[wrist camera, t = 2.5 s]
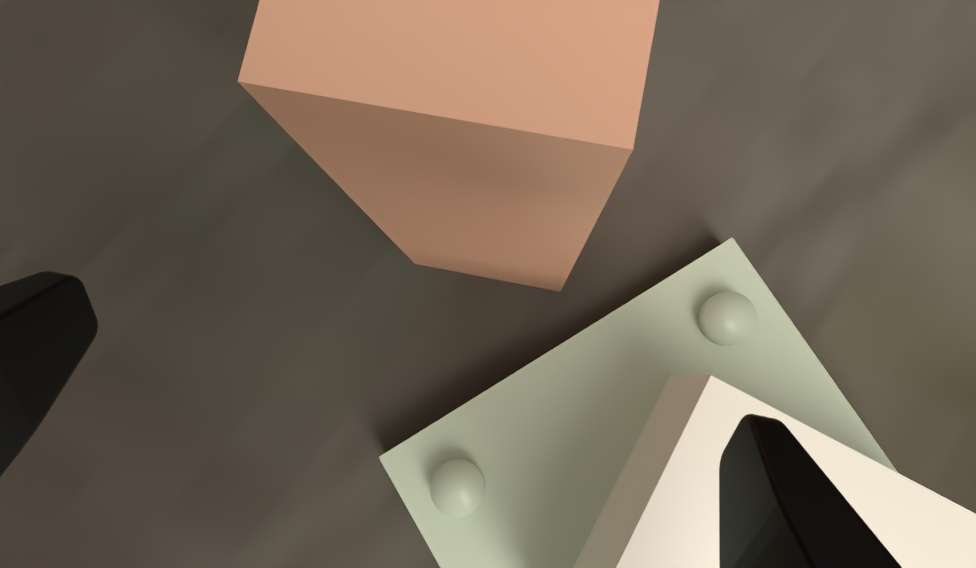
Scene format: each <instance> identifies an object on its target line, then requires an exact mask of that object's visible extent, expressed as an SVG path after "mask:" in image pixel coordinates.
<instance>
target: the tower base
mask: <svg viewBox="0 0 976 568" xmlns="http://www.w3.org/2000/svg"><path fill="white" fill-rule="evenodd" d="M747 414H755V415H760V416H765V417H770V418H775V419H778V420H780V421H781V422H782V423H784V424H785V425H786V427H787V428H788V429H789V430H790V431H791V433H792V434H793V435H794V436H795V438H796V439H797V440H798V441H799V442H800V444H801V445H802V446H803V447H804V449H805V450H806V451H807V452H808V453H809V455H810V456H811V457H812V458H813V460H814V461H815V462H816V463H817V464H818V466H819V467H820V468H821V469H822V471H823V472H824V473H825V474H826V475H827V477H828V478H829V479H830V480H831V481H832V483H833V484H834V485H835V486H836V488H837V489H838V490H839V491H840V492H841V494H842V495H843V496H844V497H845V499H846V500H847V501H848V502H849V503H850V505H851V506H852V507H853V508H854V510H855V511H856V512H857V513H858V514H859V516H860V517H861V518H862V519H863V520H864V522H865V523H866V524H867V525H868V527H869V528H870V529H871V530H872V531H873V533H874V534H875V535H876V536H877V538H878V539H879V540H880V541H881V542H882V544H883V545H884V546H885V547H886V549H887V550H888V551H889V552H890V553H891V555H892V556H893V557H894V558H895V560H896V561H897V562H898V563H899V564H900V566H901V567H902V568H976V514H975V513H973V512H971V511H969V510H967V509H965V508H963V507H961V506H960V505H958V504H956V503H954V502H952V501H950V500H948V499H946V498H944V497H942V496H940V495H939V494H937V493H935V492H933V491H931V490H929V489H927V488H925V487H923V486H921V485H920V484H918V483H916V482H914V481H912V480H910V479H908V478H906V477H904V476H902V475H900V474H899V473H898V472H897V471H896V469H895V468H894V467H893V465H892V464H891V462H890V461H889V459H888V458H887V457H886V455H885V454H884V452H883V451H882V449H881V448H880V447H879V445H878V444H877V442H876V441H875V440H874V438H873V437H872V435H871V434H870V432H869V431H868V430H867V428H866V427H865V425H864V424H863V422H862V421H861V420H860V418H859V417H858V415H857V414H856V413H855V411H854V410H853V408H852V407H851V405H850V404H849V403H848V401H847V400H846V398H845V397H844V395H843V394H842V393H841V391H840V390H839V388H838V387H837V385H836V384H835V383H834V381H833V380H832V378H831V377H830V376H829V374H828V373H827V371H826V370H825V368H824V367H823V366H822V364H821V363H820V361H819V360H818V358H817V357H816V356H815V354H814V353H813V351H812V350H811V349H810V347H809V346H808V344H807V343H806V341H805V340H804V339H803V337H802V336H801V334H800V333H799V331H798V330H797V329H796V327H795V326H794V324H793V323H792V322H791V320H790V319H789V317H788V316H787V314H786V313H785V312H784V310H783V309H782V307H781V306H780V304H779V303H778V302H777V300H776V299H775V297H774V296H773V295H772V293H771V292H770V290H769V289H768V287H767V286H766V285H765V283H764V282H763V280H762V279H761V277H760V276H759V275H758V273H757V272H756V270H755V269H754V268H753V266H752V265H751V263H750V262H749V260H748V259H747V258H746V256H745V255H744V253H743V252H742V250H741V249H740V248H739V246H738V245H737V243H736V242H735V241H734V239H733V238H730V239H729V240H727V241H726V242H724V243H722V244H721V245H719V246H718V247H716V248H714V249H713V250H711V251H710V252H708V253H706V254H705V255H703V256H702V257H700V258H698V259H697V260H695V261H693V262H692V263H690V264H689V265H687V266H685V267H684V268H682V269H681V270H679V271H677V272H676V273H674V274H673V275H671V276H669V277H668V278H666V279H665V280H663V281H661V282H660V283H658V284H656V285H655V286H653V287H652V288H650V289H648V290H647V291H645V292H644V293H642V294H640V295H639V296H637V297H636V298H634V299H632V300H631V301H629V302H628V303H626V304H624V305H623V306H621V307H619V308H618V309H616V310H615V311H613V312H611V313H610V314H608V315H607V316H605V317H603V318H602V319H600V320H599V321H597V322H595V323H594V324H592V325H590V326H589V327H587V328H586V329H584V330H582V331H581V332H579V333H578V334H576V335H574V336H573V337H571V338H570V339H568V340H566V341H565V342H563V343H562V344H560V345H558V346H557V347H555V348H553V349H552V350H550V351H549V352H547V353H545V354H544V355H542V356H541V357H539V358H537V359H536V360H534V361H533V362H531V363H529V364H528V365H526V366H525V367H523V368H521V369H520V370H518V371H516V372H515V373H513V374H512V375H510V376H508V377H507V378H505V379H504V380H502V381H500V382H499V383H497V384H496V385H494V386H492V387H491V388H489V389H488V390H486V391H484V392H483V393H481V394H479V395H478V396H476V397H475V398H473V399H471V400H470V401H468V402H467V403H465V404H463V405H462V406H460V407H459V408H457V409H455V410H454V411H452V412H451V413H449V414H447V415H446V416H444V417H442V418H441V419H439V420H438V421H436V422H434V423H433V424H431V425H430V426H428V427H426V428H425V429H423V430H422V431H420V432H418V433H417V434H415V435H414V436H412V437H410V438H409V439H407V440H405V441H404V442H402V443H401V444H399V445H397V446H396V447H394V448H393V449H391V450H389V451H388V452H386V453H385V454H383V455H381V456H380V457H379V459H380V461H381V462H382V464H383V466H384V468H385V470H386V471H387V473H388V475H389V477H390V478H391V480H392V482H393V484H394V486H395V487H396V489H397V491H398V493H399V495H400V496H401V498H402V500H403V502H404V503H405V505H406V507H407V509H408V511H409V512H410V514H411V516H412V518H413V520H414V521H415V523H416V525H417V527H418V528H419V530H420V532H421V534H422V536H423V537H424V539H425V541H426V543H427V544H428V546H429V548H430V550H431V552H432V553H433V555H434V557H435V559H436V561H437V562H438V564H439V566H440V568H719V466H720V460H721V456H722V453H723V451H724V449H725V447H726V445H727V444H728V442H729V440H730V438H731V436H732V435H733V433H734V431H735V429H736V427H737V426H738V424H739V422H740V420H741V419H742V418H743V417H744V416H745V415H747Z"/></svg>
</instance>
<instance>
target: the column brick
mask: <svg viewBox="0 0 976 568" xmlns="http://www.w3.org/2000/svg"><path fill="white" fill-rule="evenodd" d="M658 6H659V0H260V1H259V5H258V9H257V12H256V16H255V20H254V23H253V27H252V30H251V34H250V38H249V41H248V45H247V49H246V52H245V56H244V60H243V63H242V67H241V71H240V74H239V78H238V82H239V83H240V84H241V85H242V87H243V88H244V89H245V90H246V91H247V92H248V93H249V94H250V95H251V96H252V97H253V98H254V99H255V100H256V101H257V102H258V103H259V104H260V105H261V106H262V107H263V108H264V109H265V110H266V111H267V112H268V113H269V114H270V115H271V116H272V117H273V118H274V119H275V120H276V122H277V123H278V124H279V125H280V126H281V127H282V128H283V129H284V130H285V131H286V132H287V133H288V134H289V135H290V136H291V137H292V138H293V139H294V140H295V141H296V142H297V143H298V144H299V145H300V146H301V147H302V148H303V149H304V150H305V151H306V152H307V153H308V154H309V155H310V157H311V158H312V159H313V160H314V161H315V162H316V163H317V164H318V165H319V166H320V167H321V168H322V169H323V170H324V171H325V172H326V173H327V174H328V175H329V176H330V177H331V178H332V179H333V180H334V181H335V182H336V183H337V184H338V185H339V186H340V187H341V188H342V189H343V190H344V192H345V193H346V194H347V195H348V196H349V197H350V198H351V199H352V200H353V201H354V202H355V203H356V204H357V205H358V206H359V207H360V208H361V209H362V210H363V211H364V212H365V213H366V214H367V215H368V216H369V217H370V218H371V219H372V220H373V221H374V222H375V223H376V224H377V226H378V227H379V228H380V229H381V230H382V231H383V232H384V233H385V234H386V235H387V236H388V237H389V238H390V239H391V240H392V241H393V242H394V243H395V244H396V245H397V246H398V247H399V248H400V249H401V250H402V251H403V252H404V253H405V254H406V255H407V256H408V257H409V258H410V259H411V261H412V262H413V263H414V264H418V265H424V266H429V267H434V268H439V269H444V270H449V271H455V272H460V273H465V274H470V275H475V276H480V277H486V278H491V279H496V280H501V281H506V282H512V283H517V284H522V285H527V286H532V287H537V288H543V289H548V290H553V291H558V292H561V290H562V288H563V286H564V284H565V282H566V280H567V278H568V276H569V274H570V272H571V270H572V268H573V266H574V264H575V262H576V260H577V258H578V256H579V254H580V252H581V250H582V248H583V246H584V245H585V243H586V241H587V239H588V237H589V235H590V233H591V231H592V229H593V227H594V225H595V223H596V221H597V219H598V217H599V215H600V213H601V211H602V209H603V207H604V205H605V203H606V201H607V199H608V197H609V196H610V194H611V192H612V190H613V188H614V186H615V184H616V182H617V180H618V178H619V176H620V174H621V172H622V170H623V168H624V166H625V164H626V162H627V160H628V158H629V156H630V154H631V152H632V150H633V146H634V141H635V135H636V129H637V124H638V118H639V113H640V107H641V101H642V96H643V90H644V84H645V79H646V73H647V68H648V62H649V56H650V51H651V45H652V39H653V34H654V28H655V23H656V17H657V11H658Z"/></svg>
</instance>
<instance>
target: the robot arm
mask: <svg viewBox="0 0 976 568" xmlns="http://www.w3.org/2000/svg"><path fill="white" fill-rule="evenodd" d="M97 328H98V321H97V318H96V315H95V313H94V310H93V308H92V305H91V303H90V300H89V297H88V295H87V292H86V290H85V287H84V285H83V283H82V282H81V281H80V280H79V279H78V278H77V277H75V276H71V275H66V274H61V273H56V272H48V271H46V272H41V273H37V274H34V275H31V276H28V277H25V278H22V279H20V280H17V281H14V282H11V283H8V284H5V285H2V286H0V477H1V475H2V474H3V473H4V471H5V470H6V469H7V468H8V466H9V465H10V464H11V462H12V461H13V460H14V459H15V457H16V456H17V455H18V453H19V452H20V451H21V450H22V448H23V447H24V446H25V444H26V443H27V442H28V440H29V439H30V438H31V436H32V435H33V433H34V432H35V431H36V429H37V428H38V426H39V425H40V423H41V422H42V420H43V419H44V417H45V416H46V414H47V413H48V411H49V409H50V408H51V406H52V405H53V403H54V402H55V400H56V398H57V397H58V395H59V394H60V392H61V390H62V389H63V387H64V386H65V384H66V383H67V381H68V379H69V378H70V376H71V375H72V373H73V371H74V370H75V368H76V367H77V365H78V364H79V362H80V360H81V359H82V357H83V356H84V354H85V352H86V351H87V349H88V348H89V346H90V345H91V343H92V341H93V340H94V338H95V336H96V333H97ZM719 568H902V567H901V566H900V564H899V563H898V562H897V561H896V560H895V558H894V557H893V556H892V555H891V553H890V552H889V551H888V550H887V549H886V547H885V546H884V545H883V544H882V542H881V541H880V540H879V539H878V538H877V536H876V535H875V534H874V533H873V531H872V530H871V529H870V528H869V527H868V525H867V524H866V523H865V522H864V520H863V519H862V518H861V517H860V516H859V514H858V513H857V512H856V511H855V510H854V508H853V507H852V506H851V505H850V503H849V502H848V501H847V500H846V499H845V497H844V496H843V495H842V494H841V492H840V491H839V490H838V489H837V488H836V486H835V485H834V484H833V483H832V481H831V480H830V479H829V478H828V477H827V475H826V474H825V473H824V472H823V471H822V469H821V468H820V467H819V466H818V464H817V463H816V462H815V461H814V460H813V458H812V457H811V456H810V455H809V453H808V452H807V451H806V450H805V449H804V447H803V446H802V445H801V444H800V442H799V441H798V440H797V439H796V438H795V436H794V435H793V434H792V433H791V431H790V430H789V429H788V428H787V427H786V425H785V424H784V423H782V422H781V421H780V420H778V419H775V418H770V417H765V416H760V415H755V414H747V415H745V416H744V417H743V418H742V419H741V420H740V422H739V424H738V426H737V427H736V429H735V431H734V433H733V435H732V436H731V438H730V440H729V442H728V444H727V445H726V447H725V449H724V451H723V453H722V456H721V460H720V466H719Z"/></svg>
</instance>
